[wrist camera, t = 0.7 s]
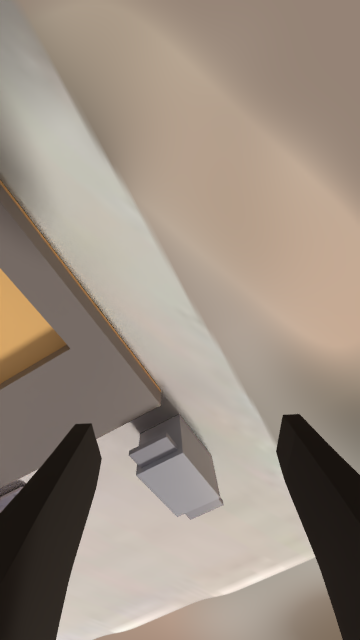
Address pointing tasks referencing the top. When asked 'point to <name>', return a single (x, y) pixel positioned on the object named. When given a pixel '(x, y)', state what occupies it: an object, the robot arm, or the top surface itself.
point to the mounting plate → (55, 353)
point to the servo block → (177, 468)
